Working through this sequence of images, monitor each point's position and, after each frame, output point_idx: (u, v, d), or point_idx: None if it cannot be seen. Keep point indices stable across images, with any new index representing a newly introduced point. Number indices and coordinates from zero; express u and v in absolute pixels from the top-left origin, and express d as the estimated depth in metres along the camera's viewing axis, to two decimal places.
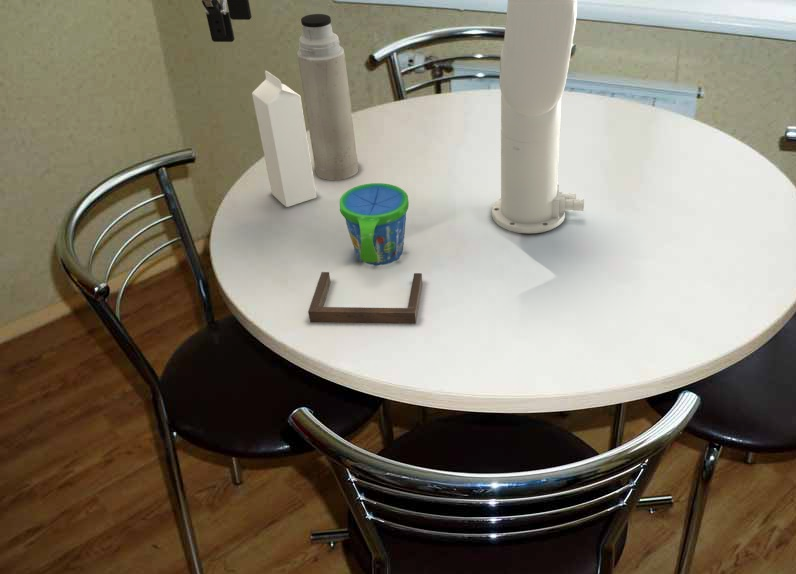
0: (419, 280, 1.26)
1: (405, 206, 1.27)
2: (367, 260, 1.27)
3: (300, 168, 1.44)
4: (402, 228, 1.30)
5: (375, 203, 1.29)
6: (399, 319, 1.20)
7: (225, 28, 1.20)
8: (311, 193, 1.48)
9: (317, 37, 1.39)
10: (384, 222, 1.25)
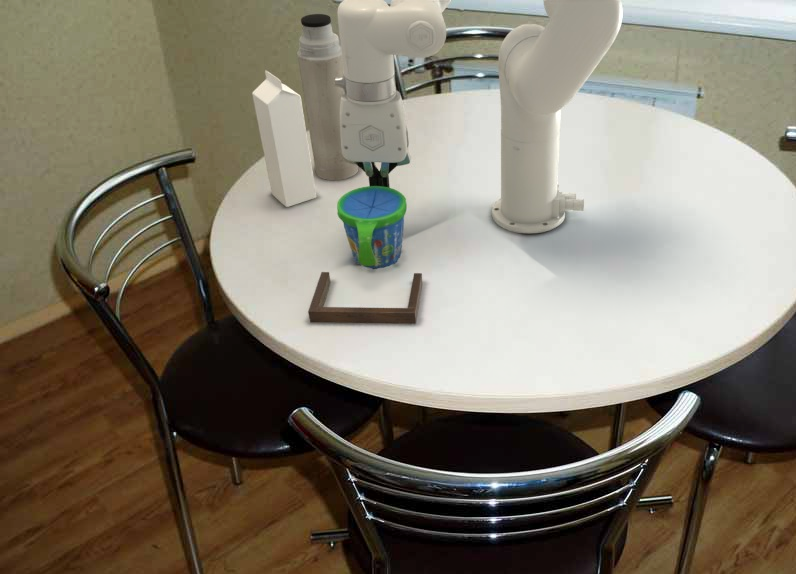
0: (419, 280, 1.26)
1: (403, 209, 1.26)
2: (365, 264, 1.26)
3: (300, 168, 1.44)
4: (400, 231, 1.29)
5: (373, 206, 1.28)
6: (399, 319, 1.20)
7: None
8: (311, 193, 1.48)
9: (317, 37, 1.39)
10: (382, 225, 1.25)
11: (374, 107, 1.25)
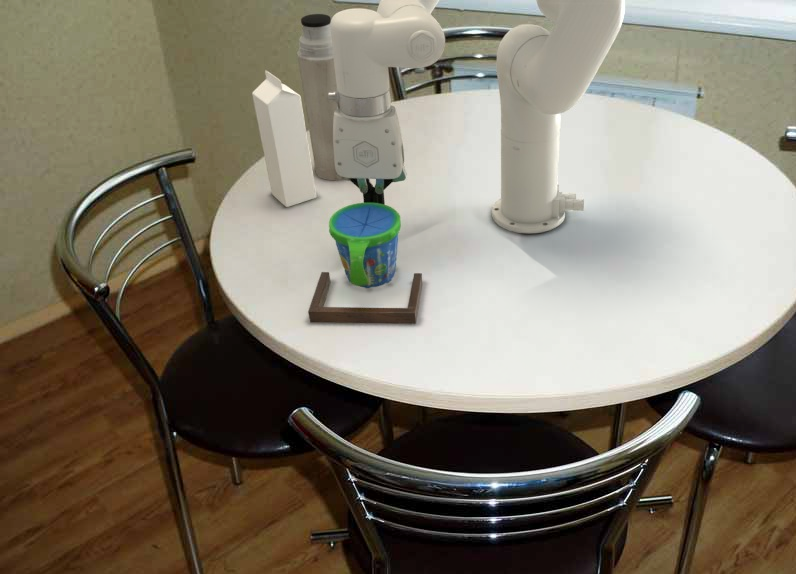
0: (419, 280, 1.26)
1: (396, 227, 1.22)
2: (357, 283, 1.22)
3: (300, 168, 1.44)
4: (394, 250, 1.25)
5: (366, 224, 1.24)
6: (399, 319, 1.20)
7: None
8: (311, 193, 1.48)
9: (317, 37, 1.39)
10: (374, 244, 1.21)
11: (368, 123, 1.21)
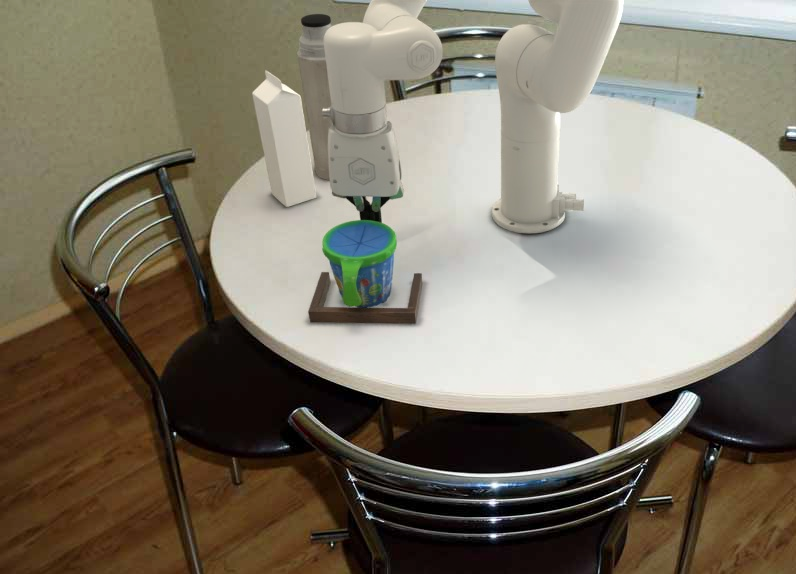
0: (419, 280, 1.26)
1: (392, 247, 1.18)
2: (350, 304, 1.18)
3: (300, 168, 1.44)
4: (389, 269, 1.21)
5: (361, 242, 1.20)
6: (399, 319, 1.20)
7: None
8: (311, 193, 1.48)
9: (317, 37, 1.39)
10: (368, 264, 1.17)
11: (364, 140, 1.17)
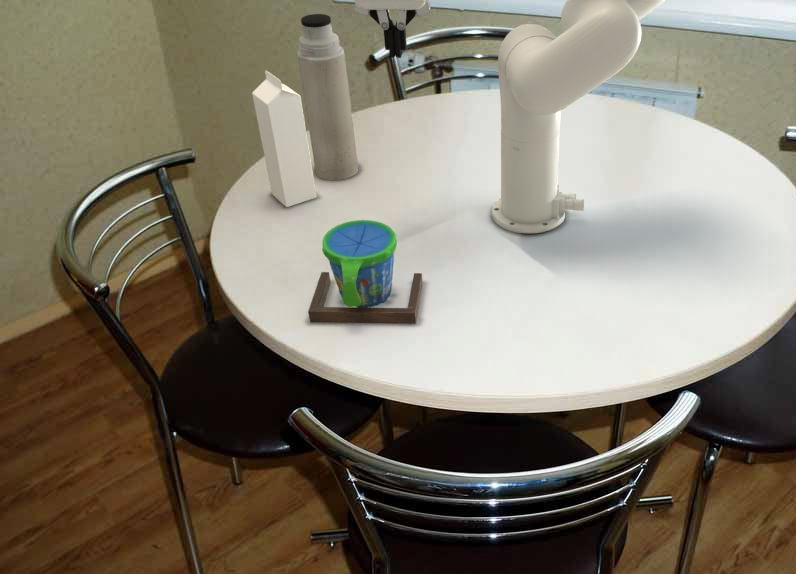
0: (419, 280, 1.26)
1: (391, 247, 1.18)
2: (350, 304, 1.18)
3: (300, 168, 1.44)
4: (389, 269, 1.21)
5: (361, 242, 1.20)
6: (399, 319, 1.20)
7: (387, 43, 1.21)
8: (311, 193, 1.48)
9: (317, 37, 1.39)
10: (368, 264, 1.17)
11: None
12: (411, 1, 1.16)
